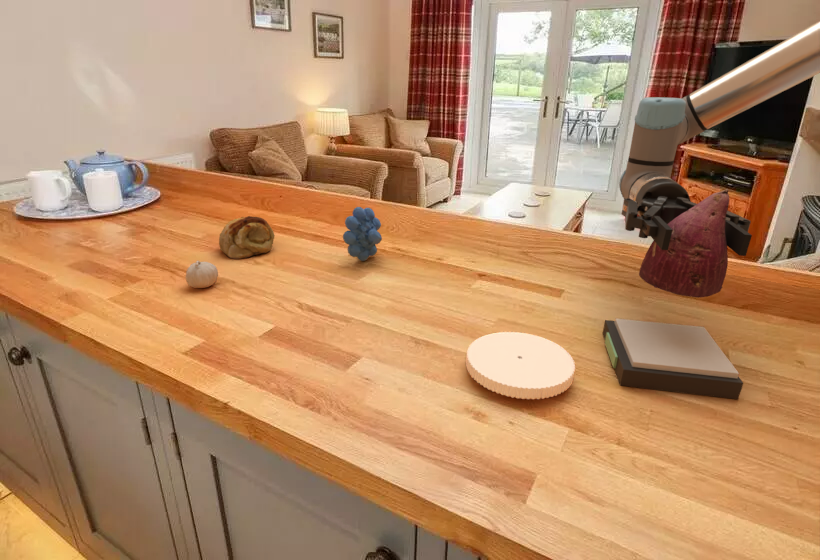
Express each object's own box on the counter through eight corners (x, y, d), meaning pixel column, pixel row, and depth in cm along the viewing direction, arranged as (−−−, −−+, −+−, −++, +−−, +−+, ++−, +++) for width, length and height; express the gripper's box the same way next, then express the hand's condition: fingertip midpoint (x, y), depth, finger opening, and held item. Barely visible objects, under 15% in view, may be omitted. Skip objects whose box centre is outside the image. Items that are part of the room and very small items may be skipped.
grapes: (362, 273, 97) (361, 215, 93) (336, 266, 101) (334, 209, 96) (395, 257, 106) (396, 202, 102) (370, 251, 110) (370, 198, 105)
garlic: (203, 294, 87) (199, 267, 85) (180, 289, 89) (175, 262, 87) (226, 282, 93) (223, 256, 90) (204, 277, 94) (200, 252, 92)
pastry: (248, 263, 102) (244, 225, 99) (204, 253, 107) (198, 217, 104) (291, 243, 114) (288, 209, 111) (249, 236, 119) (245, 203, 115)
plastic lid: (472, 405, 59) (473, 388, 58) (460, 346, 72) (461, 331, 71) (587, 406, 59) (590, 389, 58) (555, 347, 72) (557, 332, 71)
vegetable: (712, 298, 71) (773, 202, 65) (708, 316, 63) (778, 208, 57) (641, 266, 76) (692, 173, 70) (629, 279, 67) (686, 175, 61)
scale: (699, 343, 74) (705, 324, 73) (738, 399, 61) (745, 377, 60) (600, 333, 76) (603, 314, 75) (617, 385, 64) (622, 363, 62)
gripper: (721, 226, 81) (790, 277, 61) (588, 217, 85) (611, 263, 65) (734, 181, 78) (810, 219, 58) (595, 174, 82) (622, 207, 62)
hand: (705, 242), depth 61 cm, fingers closed on vegetable, 8 cm apart
